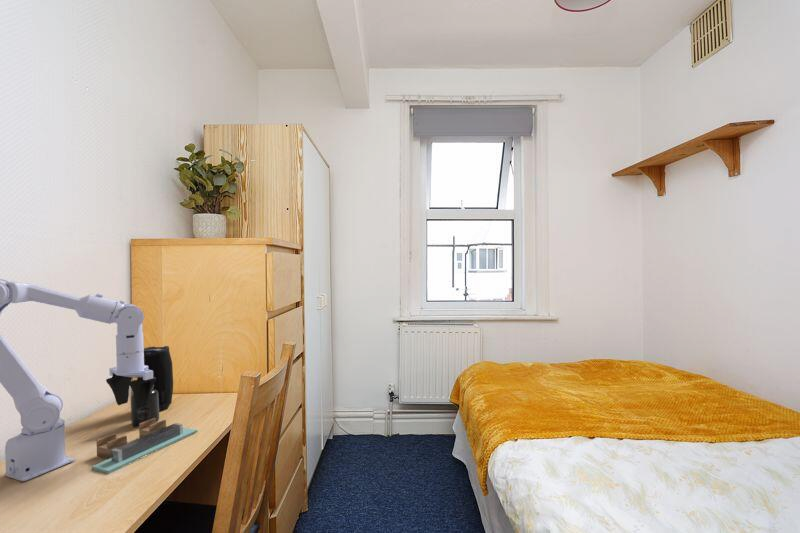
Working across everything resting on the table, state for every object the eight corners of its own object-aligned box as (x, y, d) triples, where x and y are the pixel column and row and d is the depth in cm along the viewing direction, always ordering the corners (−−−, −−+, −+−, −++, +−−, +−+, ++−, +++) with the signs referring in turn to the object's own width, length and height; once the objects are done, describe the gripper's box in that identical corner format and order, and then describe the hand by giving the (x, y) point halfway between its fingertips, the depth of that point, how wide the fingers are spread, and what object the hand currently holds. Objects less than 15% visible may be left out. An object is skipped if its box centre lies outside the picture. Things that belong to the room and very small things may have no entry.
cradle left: (109, 460, 89) (109, 442, 89) (97, 456, 91) (96, 440, 91) (127, 452, 93) (126, 435, 93) (114, 449, 95) (114, 433, 95)
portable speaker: (139, 408, 124) (137, 348, 124) (173, 402, 129) (171, 343, 129) (139, 416, 117) (137, 352, 117) (174, 409, 122) (172, 347, 122)
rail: (118, 462, 87) (118, 451, 87) (111, 461, 88) (111, 450, 88) (182, 433, 101) (182, 424, 101) (176, 432, 102) (175, 422, 102)
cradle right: (151, 441, 99) (151, 425, 99) (139, 438, 101) (138, 423, 101) (166, 435, 102) (165, 420, 102) (154, 432, 104) (153, 417, 104)
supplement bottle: (164, 418, 115) (163, 378, 115) (147, 427, 108) (146, 385, 108) (143, 418, 115) (142, 378, 115) (125, 427, 109) (123, 385, 109)
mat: (108, 473, 83) (108, 470, 83) (91, 469, 86) (91, 466, 86) (197, 432, 104) (197, 429, 104) (181, 429, 106) (181, 427, 106)
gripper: (164, 350, 98) (165, 403, 98) (128, 347, 104) (130, 397, 104) (135, 356, 92) (137, 413, 92) (99, 352, 98) (101, 406, 98)
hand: (131, 405), depth 98 cm, fingers open, 7 cm apart
